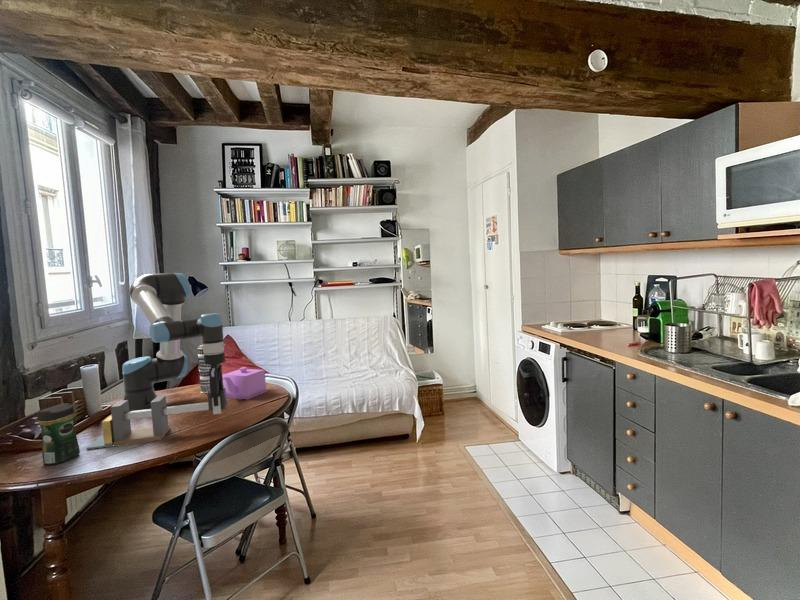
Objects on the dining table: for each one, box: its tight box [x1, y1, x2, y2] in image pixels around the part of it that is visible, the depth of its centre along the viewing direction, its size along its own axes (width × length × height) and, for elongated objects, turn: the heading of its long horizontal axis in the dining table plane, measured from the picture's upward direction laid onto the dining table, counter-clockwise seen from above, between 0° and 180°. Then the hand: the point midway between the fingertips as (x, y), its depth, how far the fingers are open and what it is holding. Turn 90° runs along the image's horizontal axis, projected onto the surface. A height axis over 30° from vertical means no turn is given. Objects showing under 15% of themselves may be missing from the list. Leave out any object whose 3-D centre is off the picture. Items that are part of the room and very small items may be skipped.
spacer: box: [101, 414, 116, 445], centre depth 158 cm, size 10×2×8 cm, turn 15°
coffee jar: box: [37, 402, 81, 465], centre depth 143 cm, size 10×8×19 cm
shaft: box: [124, 389, 228, 420], centre depth 163 cm, size 4×36×7 cm, turn 105°
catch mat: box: [86, 435, 114, 450], centre depth 157 cm, size 12×8×1 cm
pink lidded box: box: [222, 366, 267, 400], centre depth 210 cm, size 15×25×14 cm, turn 156°
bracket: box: [110, 395, 171, 447], centre depth 160 cm, size 12×16×14 cm
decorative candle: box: [196, 343, 211, 394], centre depth 222 cm, size 9×9×25 cm
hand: (219, 410), depth 167 cm, fingers open, 7 cm apart
